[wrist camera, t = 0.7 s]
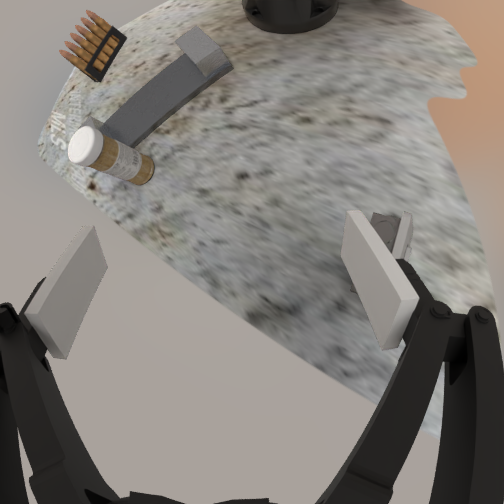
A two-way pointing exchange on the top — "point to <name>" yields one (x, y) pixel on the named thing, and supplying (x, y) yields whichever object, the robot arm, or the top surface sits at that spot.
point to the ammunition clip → (94, 47)
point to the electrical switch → (394, 235)
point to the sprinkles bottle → (109, 156)
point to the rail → (166, 90)
